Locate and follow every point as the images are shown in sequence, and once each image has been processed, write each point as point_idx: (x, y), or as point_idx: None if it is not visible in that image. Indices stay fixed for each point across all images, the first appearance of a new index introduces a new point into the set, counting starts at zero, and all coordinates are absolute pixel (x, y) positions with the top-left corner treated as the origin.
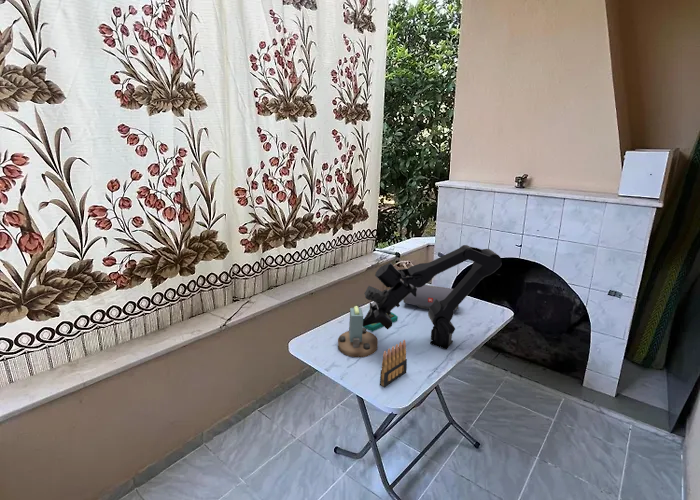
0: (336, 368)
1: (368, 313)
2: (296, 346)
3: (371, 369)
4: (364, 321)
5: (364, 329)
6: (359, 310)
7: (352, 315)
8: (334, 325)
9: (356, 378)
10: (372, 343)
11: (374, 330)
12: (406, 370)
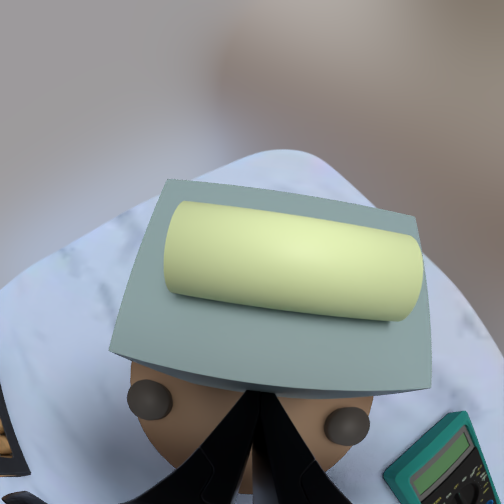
0: (114, 245)
1: (291, 492)
2: (295, 153)
3: (57, 372)
4: (227, 413)
5: (346, 433)
6: (344, 340)
7: (178, 192)
8: (444, 295)
9: (40, 296)
10: (192, 450)
11: (388, 484)
12: (11, 476)
